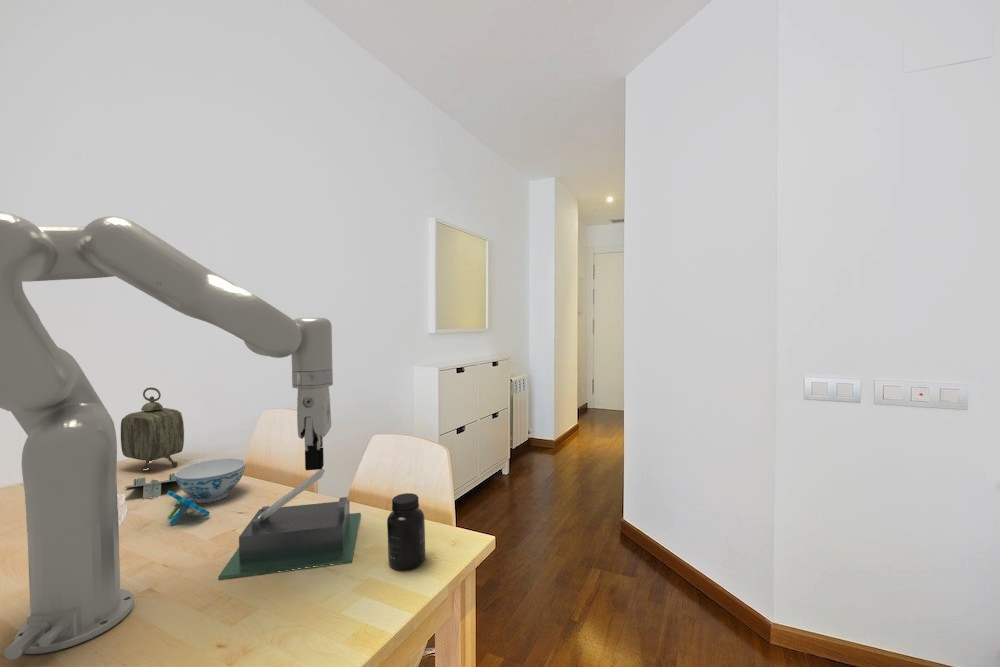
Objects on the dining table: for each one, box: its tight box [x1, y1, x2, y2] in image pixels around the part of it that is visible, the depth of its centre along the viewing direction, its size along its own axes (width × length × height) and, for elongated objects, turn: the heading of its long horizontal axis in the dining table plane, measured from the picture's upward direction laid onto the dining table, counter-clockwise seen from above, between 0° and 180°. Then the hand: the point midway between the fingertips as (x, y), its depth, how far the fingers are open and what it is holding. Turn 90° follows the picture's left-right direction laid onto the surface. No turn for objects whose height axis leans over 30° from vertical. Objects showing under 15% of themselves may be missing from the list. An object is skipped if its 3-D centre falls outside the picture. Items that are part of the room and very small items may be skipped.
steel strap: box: [257, 467, 326, 522], centre depth 86 cm, size 4×14×1 cm
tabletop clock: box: [120, 387, 185, 470], centre depth 131 cm, size 14×9×25 cm, turn 74°
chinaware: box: [174, 457, 246, 503], centre depth 109 cm, size 15×15×8 cm
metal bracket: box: [124, 472, 177, 499], centre depth 115 cm, size 14×6×15 cm
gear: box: [166, 489, 211, 526], centre depth 96 cm, size 11×6×10 cm
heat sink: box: [217, 496, 362, 580], centre depth 86 cm, size 20×22×8 cm
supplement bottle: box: [386, 493, 426, 572], centre depth 79 cm, size 7×7×12 cm
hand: (314, 468), depth 87 cm, fingers closed
